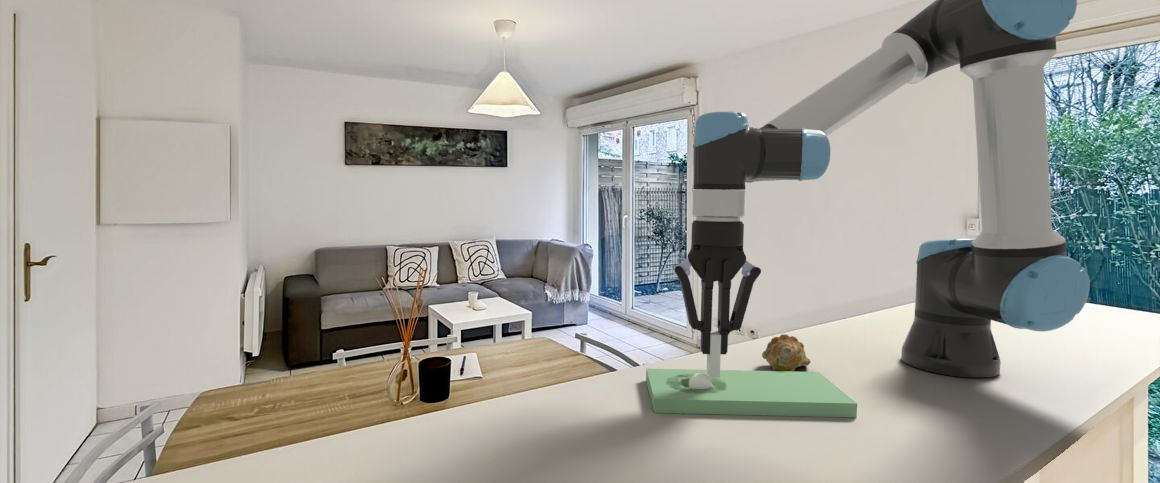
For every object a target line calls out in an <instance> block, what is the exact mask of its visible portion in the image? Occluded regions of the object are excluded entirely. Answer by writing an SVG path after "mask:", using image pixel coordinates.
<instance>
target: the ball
mask: <svg viewBox="0 0 1160 483" xmlns="http://www.w3.org/2000/svg"><path fill="white" fill-rule="evenodd" d="M712 386H713V383H712V380H711V379H710V377H709V376H707V375H706V374H703V373H697V374H695V375H693V376H692V377H691V378H690V380H689V388H692V389H707V388H711V387H712Z"/></svg>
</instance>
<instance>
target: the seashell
mask: <svg viewBox="0 0 1160 483" xmlns="http://www.w3.org/2000/svg"><path fill="white" fill-rule="evenodd" d="M804 348H805V345H804V343H803V342H801V341H799V339H798V338H797V337H796V336H794V335H792V336H789V335H788V334H786V333H785V334H784V333H783V334H781V335H780V336H773V337H772V338H771V340H770V341H769V342H767V344H766V349H765V350H764V351H762V354H761V356H762V358H763V360H766V362H767V364H769V366H770V367H771V368H772V369H773V371H792V372H795V370H796V368H798V367H806V366H809V365H810V364H811V359H810V358H808V357H807V355H806V351H805V349H804Z"/></svg>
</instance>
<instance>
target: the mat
mask: <svg viewBox="0 0 1160 483" xmlns="http://www.w3.org/2000/svg"><path fill="white" fill-rule="evenodd" d="M645 370H646V371H645V373H646V374H645V382H646V386H647V390H648V394H649V398H650V403H651V406H653V407H652V409H653V410H654V411H653V413H654V412H655V413H654V414H683V413H684V414H689V415H690V414H691V415H693V414H694V415H732V416H733V415H734V416H735V415H736V416H773V417H775V416H777V417H780V416H781V417H818V418H824V417H825V418H857V414H858V403H857V402H856V401H855V400H854V399H852V397H850V396H849V395H848V394H846V393H845V392H844V391H843V390H841V389H840V388H839V387H838V386H837V385H835V384H834V383H833V382H831V381H830V380H829V379H828V378H827V377H825V375H824V374H822V373H820V371H793V372H792V371H778V370H736V369H735V370H732V369H720V378H710V379H711V380H712V383H713V386H712V387H711V388H707V389H692V388H689V380H690V378H691V377H692V376H693V375H695V374H697V373H703V374H706V375H707V376H709V375H708V374H707V369H692V368H691V369H686V368H684V369H683V368H678V369H677V368H645Z"/></svg>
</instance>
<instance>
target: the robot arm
mask: <svg viewBox="0 0 1160 483" xmlns="http://www.w3.org/2000/svg"><path fill="white" fill-rule="evenodd" d="M1077 5H1078V0H935V1H933V2H932V3H930V4H928V5H927V6H926V7H925V8H924V9H923V10H921V11H920V12H918V13H917V14H916V15H915V16H913V17H911V19H909V20H908V21H907V22H906V23H903V25H901V26H900V27H898V29H896V30H895V31H892V32H891V33H889V34H888V35H887V36H886V37H885V38H884V39H883V41H882V43H881V47H879V49H877V50H875V51H874V52H872V53H871V54H870V55H868V56H866V57H865V58H863V59H861V60H860V61H859V62H857V63H856V64H854V65H853V66H850V67H849V68H848V69H846V70H845V71H844V72H842V73H841V74H839V75H838V76H836V77H835V78H833V79H831V80H830V81H828V82H827V83H825V84H824V85H822V86H821V87H819V88H818V89H816V90H815V91H813V92H812V93H810V94H808V95H807V96H806V97H805V98H803V99H801V100H800V101H799V102H797V103H795V104H794V105H792V106H791V107H789V108H788V109H787V110H785V111H783V112H782V113H781V114H779V115H777V116H776V117H775V118H773V119H771V120H769V122H767V123H765V124H764V125H763V126H761V127H759V128H758V127H756V128H754V127H749V123H748V122H749V121H748V116H747V115H746V114H745V112H740V111H739V112H735V111H713V112H707V113H704V114H701V115H700V116H699V117H698V118H697V119H696V121H695V125H694V126H695V127H694V128H695V129H694V137H693V145H692V148H693V186H692V187H693V188H692V209H691V210H692V211H691V212H692V213H691V215H692V216H693V217H695V220H693V222H691V237H690V238H691V242H690V243H691V244H690V245H691V246H690V249H689V251H688V254H687V256H686V257H687V258H686V259H685V260H683V261H682V262H680V263H677V264H674V265H673V267H672V271H673V272H674V274H675V275H676V277H677V278H678V279H679V283H680V289H681V294H682V298H683V302H684V308H685V311H686V317H687V321H688V323H689V325H690V327H691V329H693V330H697V331H698V332H700V352H701V353H702V354H703V355H706V370H707V374H708V375H709V377H710V378H720V370H721V355H727V353H728V346H729V345H728V344H729V340H728V339H729V335H730V333H731V332H733V331H740V329H741V328H742V325H743V321H744V318H745V316H746V315H745V314H746V311H747V308H748V304H749V300H750V297H751V293H752V290H753V286H754V283H755V282H756V280H757V279H758V277H759V276H760V275H761V273H762V269H761V268H760V267H758V266H757V265H753V264H752V263H750V262H749V261H748V260H747V256H746V254H745V252H744V237H745V236H744V234H745V233H744V232H745V229H744V228H745V223H743V221H741V219H742V218H744V217H745V201H746V200H745V199H746V196H745V195H746V183H747V184H748V183H749V184H751V183H755V182H766V181H768V182H769V181H770V182H772V181H774V182H775V181H799V182H802V181H812V180H813V181H815V180H819V179H820V178H822V176H824V174H825V173H826V171H827V169H828V167H829V165H830V161H831V143H830V140H829V138H828V136H830V135H831V134H832V133H834V132H835V131H837V130H838V129H840V128H841V127H843V126H845V125H846V124H847V123H849V122H851V121H852V120H854V119H855V118H856V117H859V115H861V114H863V113H864V112H866V111H867V110H869V109H871V108H872V107H873V106H874V105H876V104H877V103H879V102H880V101H882V100H883V99H885V98H887V97H888V96H889V95H891V94H893V93H894V92H895V91H897V90H898V89H900V88H902V87H903V86H905V85H907V84H910V85H915V84H918V83H920V82H922V81H923V80H925V79H926V78H928V77H929V76H931V75H933V74H935V73H937V72H939V71H942V70H945V69H948V68H951V67H953V66H955V65H959V69H960V72H961V73H963V74H964V75H966V76H967V77H969V78H970V79H971V81H972V90H973V104H974V106H973V108H974V121H975V122H974V123H975V136H976V151H977V152H976V153H977V154H976V155H977V166H978V167H977V171H978V184H979V187H978V188H979V201H980V202H979V203H980V214H981V215H980V217H981V232H980V234H979V235H978V236H976V237H975V238H959V239H958V238H956V239H954V238H953V239H952V238H951V239H932V240H926V241H924V242H922V243H921V244H920V246H919V249H918V253H917V259H916V280H915V281H916V284H915V299H914V300H915V301H914V302H915V303H914V304H915V305H914V315H913V316H914V317H913V322H912V324H911V326H910V327H909V328H910V329H909V331H908V333H907V335H906V337H905V340H904V342H903V344H902V346H901V356H900V359H901V361H902V362H903V363H905V364H906V365H908V366H910V367H913V368H915V369H919V370H922V371H925V372H929V373H935V374H940V375H944V376H945V375H946V376H952V377H960V378H971V379H972V378H973V379H974V378H975V379H977V378H978V379H979V378H982V379H983V378H993V377H997V376H999V375H1000V374H1001V364H1002V362H1001V358H1000V354H999V351H998V348H997V345H996V340H995V339H994V335H993V332H992V328H991V327H992V321H993V322H996V323H1001V324H1004V325H1006V326H1007V325H1008V326H1009V327H1011V328H1014V329H1018V330H1027V331H1028V330H1029V331H1032V332H1033V331H1034V332H1050V331H1053V330H1058V329H1061V328H1062V327H1064V326H1065V325H1067V324H1069V323H1070V322H1072V321H1073V320H1074V318H1075V317H1076V315H1078V314H1080V312H1081V311H1082V310H1083V308H1084V307H1085V304H1086V303H1087V300H1088V298H1089V294H1090V289H1091V288H1090V286H1091V283H1090V277H1089V274H1088V272H1087V269H1086V268H1085V267H1082V266H1081V263H1080V262H1079V261H1077V260H1075V259H1073V258H1071V257H1070V256H1068V255H1067V241H1066V238H1065V237H1064V236H1062V235H1061V234H1060V233H1058V232H1056V231H1055V230H1054V229H1053V226H1052V223H1053V222H1052V206H1051V186H1050V164H1049V149H1048V148H1049V145H1048V127H1047V124H1048V123H1047V109H1046V108H1047V107H1046V104H1047V103H1046V90H1045V88H1046V87H1045V71H1044V70H1045V69H1044V68H1045V66H1046V65H1047V63H1048V62H1049V61H1050V60H1051V59H1052V58H1053V57H1054V56H1055V55H1057V36H1058V35H1060V34H1061V33H1062V32H1063V31H1065V30H1066V29H1067V27H1068V26H1069V25H1070V21H1072V19H1073V18H1074V16H1075V14H1076V11H1077ZM691 268H692V269H693V270H694V271H695V273H696V275H697V276H698V277H699V278H700V279H701V280H700V286H701V290H700V291H701V294H700V295H701V296H700V297H701V298H700V300H701V301H700V320H699V318H698V312H697V308H696V307H697V306H696V303H695V300H694V299H695V298H694V294H693V290H692V285H691V282H690V278H689V276H690V275H691ZM740 270H741V275H742V278H741V281H740V284H739V287H738V290H737V292H736V293H737V294H736V297H735V301H734V304H733V309H732V311H731V315H730V308H731V307H730V306H731V304H730V303H731V288H732V280H733V279H734V278H735V277H736V275H737V274H738V273H739V271H740ZM715 282H717V285H718V290H717V292H718V294H717V295H718V296H717V300H718V301H717V330H712V327H713V326H712V325H713V324H712V322H713V319H712V318H713V317H712V316H713V293H714V291H713V290H714V284H715Z"/></svg>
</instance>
